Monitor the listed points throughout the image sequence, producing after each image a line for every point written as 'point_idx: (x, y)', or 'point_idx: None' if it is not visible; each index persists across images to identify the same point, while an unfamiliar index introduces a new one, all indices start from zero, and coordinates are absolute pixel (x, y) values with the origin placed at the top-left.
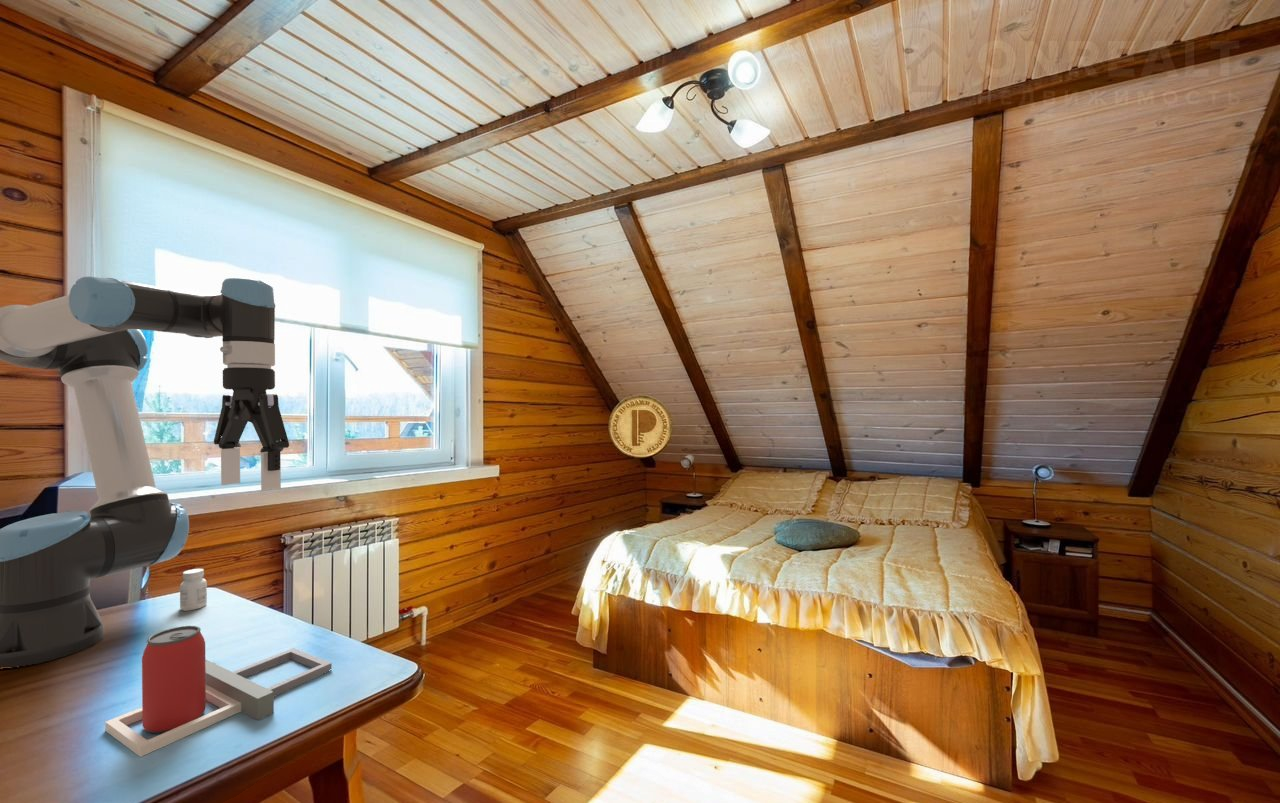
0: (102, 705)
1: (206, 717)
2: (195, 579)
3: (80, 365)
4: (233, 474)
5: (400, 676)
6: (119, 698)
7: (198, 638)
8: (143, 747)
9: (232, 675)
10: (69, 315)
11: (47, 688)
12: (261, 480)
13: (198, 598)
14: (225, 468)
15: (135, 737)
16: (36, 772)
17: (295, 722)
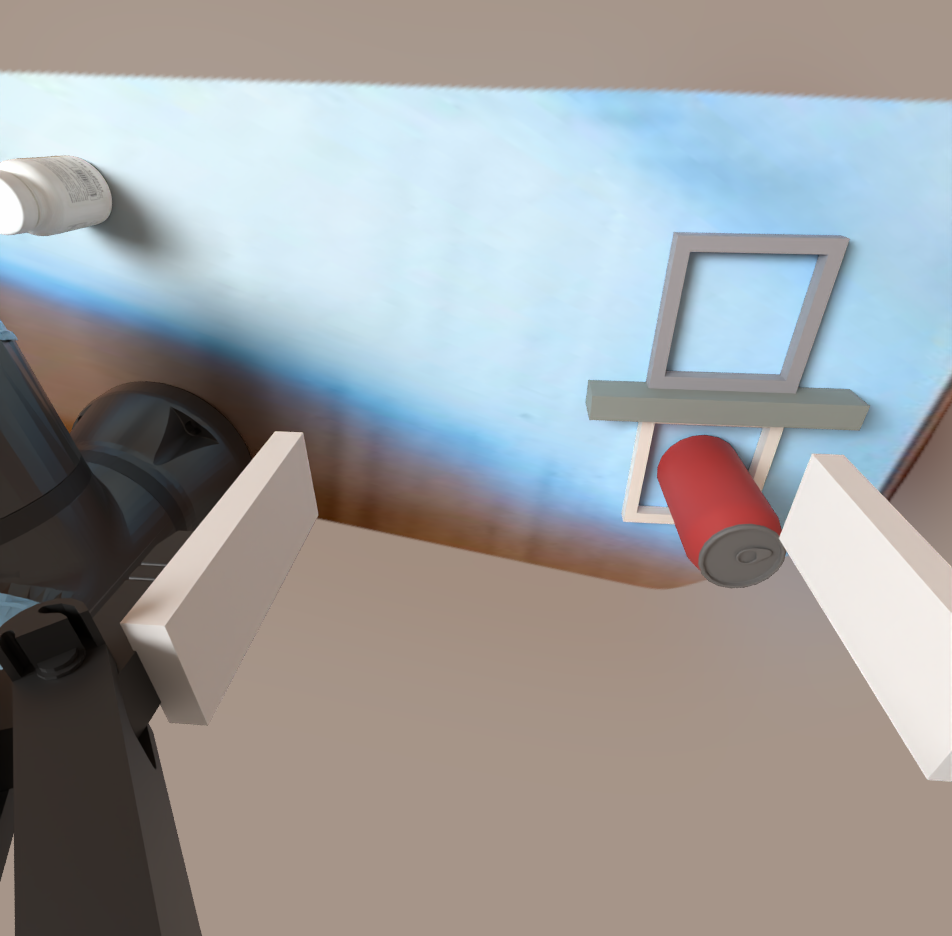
0: (529, 489)
1: (770, 461)
2: (37, 205)
3: None
4: (284, 503)
5: None
6: (528, 471)
7: (778, 530)
8: None
9: (723, 406)
10: None
11: (382, 502)
12: (810, 583)
13: (90, 194)
14: (278, 579)
15: None
16: (647, 572)
17: (917, 388)
